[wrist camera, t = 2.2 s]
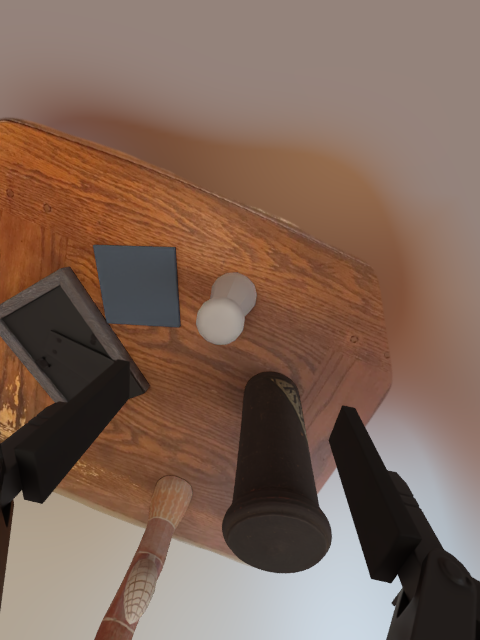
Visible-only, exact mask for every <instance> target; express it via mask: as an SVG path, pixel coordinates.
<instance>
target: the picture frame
mask: <svg viewBox="0 0 480 640" xmlns="http://www.w3.org/2000/svg"><path fill="white" fill-rule="evenodd" d="M0 336H1V337H2V339H3V340H4V341H5V342H6V344H7V345H8V346H9V347H10V348H11V350H12V351H13V352H14V353H15V354H16V356H17V357H18V358H19V359H20V361H21V362H22V363H23V364H24V365H25V367H26V368H27V369H28V370H29V371H30V373H31V374H32V375H33V376H34V378H35V379H36V380H37V381H38V382H39V384H40V385H41V386H42V387H43V389H44V390H45V391H46V392H47V393H48V395H49V396H50V397H51V398H52V399H53V401H54V402H55V403H56V402H58V401H62V402H66V403H67V402H69V401H70V400H71V399H72V398H73V397H74V396H76V395H77V394H78V393H79V392H80V391H81V390H83V389H84V388H85V387H86V386H87V385H88V384H90V383H91V382H92V381H93V380H94V379H95V378H97V377H98V376H99V375H100V374H101V373H102V372H104V371H105V370H106V369H107V368H108V367H109V366H111V365H112V364H113V363H114V362H115V361H116V360H117V359H120V360H125V361H130V391H129V399H130V398H133V397H136V396H138V395H141V394H144V393H145V392H146V390H147V389H148V388H149V386H150V385H149V384H148V382H147V381H146V379H145V378H144V376H143V375H142V373H141V372H140V370H139V369H138V367H137V366H136V364H135V363H134V361H133V360H132V358H131V357H130V355H129V354H128V352H127V351H126V349H125V348H124V346H123V345H122V343H121V342H120V341H119V339H118V338H117V336H116V335H115V333H114V332H113V330H112V329H111V327H110V326H109V324H108V323H107V322H106V320H105V318H104V317H103V315H102V314H101V312H100V311H99V309H98V308H97V306H96V305H95V303H94V302H93V300H92V299H91V297H90V296H89V295H88V293H87V292H86V290H85V289H84V287H83V286H82V284H81V283H80V281H79V280H78V278H77V277H76V275H75V274H74V272H73V271H72V269H71V268H70V267H66V268H61V269H59V270H57V271H56V272H54V273H52V274H51V275H49V276H47V277H46V278H44V279H42V280H41V281H39V282H37V283H35V284H34V285H32V286H30V287H29V288H27V289H25V290H24V291H22V292H20V293H19V294H17V295H15V296H14V297H12V298H10V299H9V300H7V301H5V302H3V303H2V304H0Z"/></svg>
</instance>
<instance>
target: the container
mask: <svg viewBox="0 0 480 640" xmlns="http://www.w3.org/2000/svg"><path fill="white" fill-rule="evenodd" d="M222 532H223V536H224V539H225V542H226V544H227V545H228V547H229V548H230V549H231V550H232V552H233V553H234V554H235V555H236V556H237V557H238V558H239V559H241V560H242V561H244V562H245V563H247V564H249V565H251V566H253V567H255V568H258V569H261V570H265V571H268V572H274V573H295V572H299V571H304V570H306V569H309V568H311V567H312V566H314V565H316V564H317V563H318V562H319V561H320V560H321V559H322V558H323V557H324V556H325V555H326V553H327V552H328V550H329V548H330V545H331V539H332V535H331V527H330V524H329V521H328V519H327V517H326V516H325V514H324V513H323V512H322V510H321V509H320V507H319V504H318V497H317V492H316V487H315V481H314V476H313V471H312V465H311V459H310V453H309V447H308V441H307V436H306V430H305V424H304V418H303V412H302V407H301V401H300V396H299V391H298V389H297V387H296V385H295V384H294V383H293V381H292V380H291V379H289V378H288V377H286V376H284V375H282V374H279V373H276V372H264V373H260V374H258V375H256V376H254V377H252V378H251V379H250V380H249V381H248V383H247V384H246V387H245V391H244V398H243V411H242V421H241V432H240V441H239V451H238V461H237V470H236V478H235V486H234V494H233V501H232V505H231V506H230V508H229V509H228V510H227V512H226V514H225V516H224V519H223V523H222Z"/></svg>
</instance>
